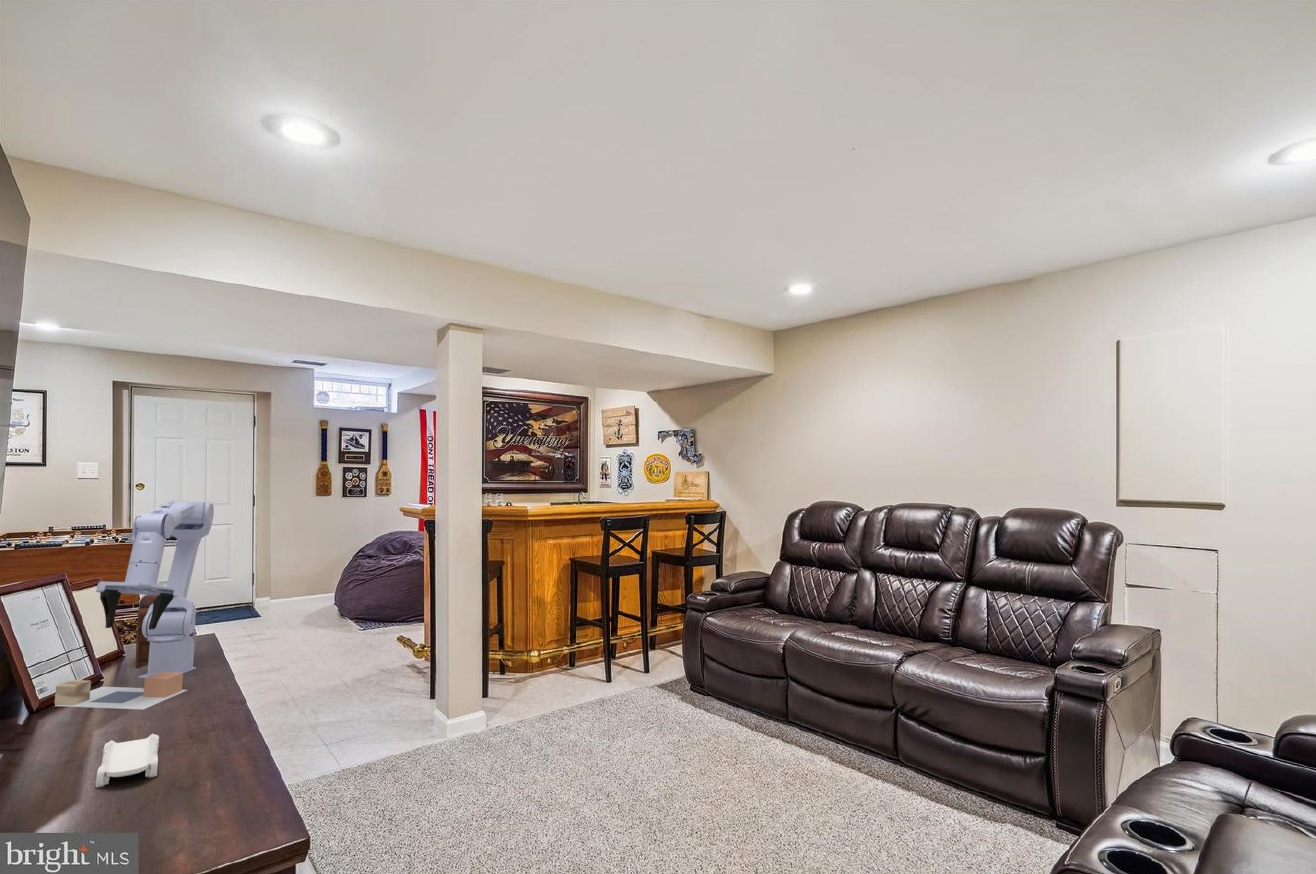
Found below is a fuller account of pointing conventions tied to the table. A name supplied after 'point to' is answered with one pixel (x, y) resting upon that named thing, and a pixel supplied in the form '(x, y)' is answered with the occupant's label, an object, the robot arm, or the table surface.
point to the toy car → (128, 759)
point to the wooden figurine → (142, 642)
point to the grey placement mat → (120, 698)
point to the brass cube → (72, 692)
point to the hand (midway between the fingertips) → (130, 628)
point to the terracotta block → (163, 684)
